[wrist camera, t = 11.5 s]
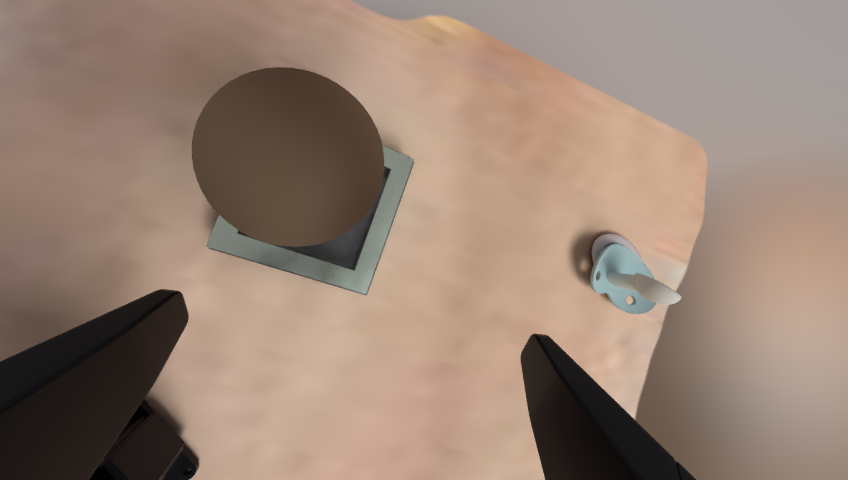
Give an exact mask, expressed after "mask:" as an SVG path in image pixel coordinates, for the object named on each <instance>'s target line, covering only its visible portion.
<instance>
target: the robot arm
mask: <svg viewBox="0 0 848 480" xmlns="http://www.w3.org/2000/svg"><path fill="white" fill-rule="evenodd" d="M187 322H188V311H187V308H186V304H185V301H184V297H183V294H182V293H181V292H179V291H175V290H166V289H160V290H157V291H155V292H152V293H150V294H148V295H146V296H144V297H141V298H139V299H137V300H135V301H133V302H130V303H128V304H126V305H124V306H122V307H119V308H117V309H115V310H113V311H111V312H108V313H106V314H104V315H102V316H100V317H97V318H95V319H93V320H91V321H89V322H86V323H84V324H82V325H80V326H78V327H75V328H73V329H71V330H69V331H67V332H64V333H62V334H60V335H58V336H56V337H53V338H51V339H49V340H47V341H45V342H42V343H40V344H38V345H36V346H33V347H31V348H29V349H27V350H25V351H22V352H20V353H18V354H16V355H14V356H11V357H9V358H7V359H5V360H3V361H0V480H189V479H190V478H192V477H193V476H194V475H195V473H196V471H197V470H198V468H199V462H198V461H197V460H196V458H195V457H194V456H193V455H192V454H191V453H190V452H189V450H188V449H187V448H186V447H185V446H184V443H183V441H182V440H181V439H180V438H179V437H178V436H177V435H176V434H175V432H174V431H173V430H172V429H171V428H170V427H169V426H168V424H167V423H166V422H165V421H164V420H163V419H162V418H161V416H160V415H159V414H156V413H155V412H154V411H153V410H152V408H151V407H150V406H149V405H148V404H147V403H146V402H145V400H144V398H145V397H146V395H147V394H148V392H149V391H150V389H151V388H152V386H153V385H154V383H155V381H156V379H157V378H158V376H159V374H160V373H161V371H162V369H163V367H164V365H165V363H166V362H167V360H168V358H169V356H170V354H171V352H172V351H173V349H174V347H175V345H176V343H177V341H178V340H179V338H180V336H181V334H182V332H183V331H184V329H185V327H186V325H187ZM521 366H522V372H523V379H524V386H525V392H526V399H527V405H528V411H529V417H530V421H531V425H532V429H533V433H534V437H535V441H536V445H537V449H538V453H539V457H540V460H541V464H542V468H543V472H544V476H545V480H696V479H695V478H694V477H693V476H692V475H691V474H690V473H689V472H688V471H687V470H686V469H685V468H684V467H683V466H682V465H681V464H680V463H678V462H676V461H675V459H674V458H673V457H672V456H671V455H670V454H669V453H668V452H667V451H666V450H665V449H664V448H663V447H662V446H661V445H660V444H659V443H658V442H657V441H656V440H655V439H654V438H653V437H652V436H651V435H650V434H649V433H648V432H647V431H646V430H645V429H644V428H643V427H642V426H640V425H639V424H638V423H637V422H636V421H635V420H634V419H633V418H632V417H631V416H630V415H629V414H628V413H627V412H626V411H625V410H624V409H623V408H622V407H621V406H620V405H619V404H618V403H617V402H616V401H615V400H614V399H613V398H612V397H611V396H610V395H609V394H608V393H607V392H606V391H605V390H604V389H602V388H601V387H600V386H599V385H598V384H597V383H596V382H595V381H594V380H593V379H592V378H591V377H590V376H589V375H588V374H587V373H586V372H585V371H584V370H583V369H582V368H581V367H580V366H579V365H578V364H577V363H576V362H575V361H574V360H573V359H572V358H571V357H570V356H569V355H568V354H567V353H566V352H565V351H563V350H562V349H561V348H560V347H559V346H558V345H557V344H556V343H555V342H554V341H553V340H552V339H551V338H550V337H549V336H547V335H542V334H532V335H531V336H530V338H529V340H528V342H527V343H526V345H525V347H524V349H523V351H522V353H521ZM186 467H189V468H191V470H190V471H187V470H185V468H186Z"/></svg>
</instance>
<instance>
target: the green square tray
mask: <svg viewBox="0 0 848 480" xmlns="http://www.w3.org/2000/svg"><path fill="white" fill-rule="evenodd" d="M382 147H383V153H384V174H383V181H382V184H381V188H380V191H379V194H378V196H377V198H376V200H375V202H374V204H373V206H372V207H371V209H370V210H369V212H368V213H367V214H366V215H365V217H364V218H363V219H362V220H361V221H360V222H359V223H358V224H357V225H355V226H354V227H353V228H352V229H350V230H349V231H347V232H346V233H344V234H342V235H340V236H339V237H337V238H335V239H332V240H329V241H327V242H324V243H320V244H316V245H310V246H301V247H295V246H281V245H274V244H270V243H267V242H263V241H260V240H258V239H255V238H252V237H250V236H248V235H246V234H245V233H243V232H241V231H239V230H238V229H236V228H235V227H233V226H232V225H231V224H229V223H228V222H227V221H226V220H225V219H223V218H222V217H221V216H220V215H219V216H218V218H217V221H216V223H215V226H214V228H213V231H212V233H211V236H210V238H209V241H208V243H207V246H206V247H209V249H212V250H216V251H219V252H222V253H226V254H229V255H233V256H236V257H239V258H243V259H246V260H249V261H253V262H256V263H259V264H263V265H266V266H269V267H273V268H276V269H280V270H283V271H286V272H290V273H293V274H296V275H300V276H303V277H306V278H310V279H313V280H316V281H320V282H323V283H327V284H330V285H333V286H337V287H340V288H343V289H347V290H350V291H353V292H357V293H360V294H363V295H367V293H368V291H369V288H370V285H371V282H372V279H373V277H374V274H375V271H376V268H377V265H378V262H379V260H380V257H381V254H382V251H383V248H384V246H385V243H386V240H387V237H388V234H389V232H390V229H391V226H392V223H393V220H394V217H395V215H396V212H397V209H398V206H399V203H400V201H401V198H402V195H403V192H404V189H405V186H406V184H407V181H408V178H409V175H410V172H411V170H412V167H413V164H414V162H413V161H414V159H412V158H410V157H408V156H405V155H403V154H401V153H399V152H396V151H394V150H392V149H390V148H387V147H385V146H383V145H382Z"/></svg>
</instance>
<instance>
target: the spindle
mask: <svg viewBox="0 0 848 480" xmlns="http://www.w3.org/2000/svg"><path fill="white" fill-rule="evenodd" d="M192 159H193V167H194V171H195V174H196V178H197V181H198V183H199V185H200V188H201V190H202V192H203V194H204V195H205V197H206V198H207V200H208V202H209V203H210V204H211V206H212V207H213V208H214V209H215V210H216V212H217V213H218V214H219V215H220V216H221V217H222V218H223V219H225V220H226V221H227V222H228V223H229V224H231V225H232V226H233V227H235V228H236V229H238V230H239V231H241V232H243V233H245V234H246V235H248V236H250V237H252V238H255V239H258V240H260V241H263V242H267V243H270V244H274V245H281V246H295V247H301V246H310V245H316V244H320V243H324V242H327V241H329V240H332V239H335V238H337V237H339V236H340V235H342V234H344V233H346V232H347V231H349V230H350V229H352V228H353V227H354V226H355V225H357V224H358V223H359V222H360V221H361V220H362V219H363V218H364V217H365V215H366V214H367V213H368V212H369V210H370V209H371V207H372V206H373V204H374V202H375V200H376V198H377V196H378V194H379V191H380V188H381V184H382V181H383V174H384V153H383V147H382V143H381V139H380V136H379V133H378V131H377V128H376V126H375V124H374V122H373V120H372V118H371V117H370V115H369V114H368V112H367V111H366V110H365V108H364V107H363V106H362V105H361V103H360V102H359V101H358V100H357V99H356V98H355V97H354V96H353V95H352V94H350V93H349V92H348V91H347V90H346V89H344V88H343V87H341V86H340V85H339V84H337V83H335V82H333V81H332V80H330V79H328V78H326V77H323V76H321V75H318V74H316V73H313V72H309V71H306V70H301V69H295V68H281V67H277V68H266V69H261V70H257V71H252V72H250V73H247V74H244V75H242V76H240V77H238V78H236V79H234V80H232V81H230V82H229V83H227V84H226V85H225V86H223V87H222V88H221V89H220V90H219V91H218V92H217V93H216V94H215V95H214V96H213V97H212V98H211V99H210V100H209V101H208V103H207V104H206V106H205V107H204V108H203V110H202V112H201V114H200V116H199V118H198V121H197V124H196V127H195V130H194V135H193V141H192Z"/></svg>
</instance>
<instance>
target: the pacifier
mask: <svg viewBox="0 0 848 480" xmlns="http://www.w3.org/2000/svg"><path fill="white" fill-rule="evenodd" d="M611 243H612V245H608V244H611ZM606 245H608V246H607V247H606V248H605V249H604V247H605V246H606ZM603 249H604V250H603ZM592 259H593V263H594V265H593V269H592V273H591V276H590V285H591V288H592V289H593V290H594V291H595V292H598V293H602V294H604V293H606V294H607V296H608V298H609V300H610V301H611V302H612V303H613V304H614V305H615V306H616V307H617V308H619V309H620V310H623V311H625V312H627V313H631V314H642V313H646V312H648V311H650V310H651V309H652V308H653V307H654V306H655V304H656V303H657V304H662V305H669V304H674V303H676V302H678V301H679V300H680V299H681V296H680V295H679V294H678V293H677V292H675V291H674V290H672V289H671V288H669V287H668V286H666V285H664V284H663V283H661V282H659V281H657V280H655V279H654V277H653V275H652V273H651V271H650V270H649V269H648V268H647V266H646V265H645V264H644V263H643V259H642V257H641V255H640V253H639V251H638V250H637V249H636V247H635V246H634V245H633V244H632V243H631V242H630V241H628V240H627V239H625V238H624V237H622V236H619V235H616V234H604V235H602V236H600V237H598V238H597V239H596V240H595V242H594V243H593V246H592ZM627 295H630V296H631V297H632V298H633V303H632V304H628V303H627V302H626V296H627Z"/></svg>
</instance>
